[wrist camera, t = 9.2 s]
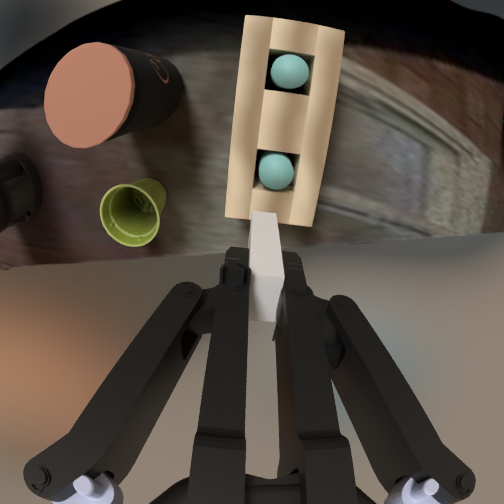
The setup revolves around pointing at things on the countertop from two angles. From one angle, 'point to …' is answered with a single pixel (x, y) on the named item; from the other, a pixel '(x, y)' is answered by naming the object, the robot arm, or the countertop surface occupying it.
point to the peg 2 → (275, 169)
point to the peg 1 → (289, 72)
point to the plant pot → (133, 211)
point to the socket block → (282, 118)
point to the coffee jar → (108, 93)
